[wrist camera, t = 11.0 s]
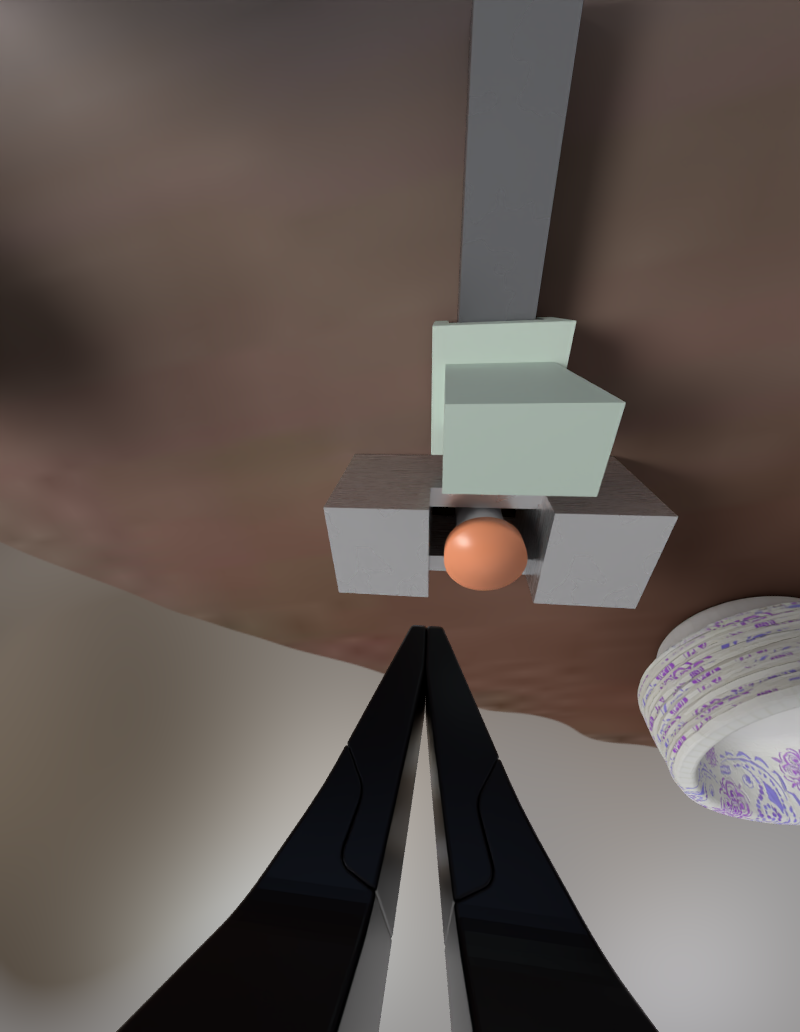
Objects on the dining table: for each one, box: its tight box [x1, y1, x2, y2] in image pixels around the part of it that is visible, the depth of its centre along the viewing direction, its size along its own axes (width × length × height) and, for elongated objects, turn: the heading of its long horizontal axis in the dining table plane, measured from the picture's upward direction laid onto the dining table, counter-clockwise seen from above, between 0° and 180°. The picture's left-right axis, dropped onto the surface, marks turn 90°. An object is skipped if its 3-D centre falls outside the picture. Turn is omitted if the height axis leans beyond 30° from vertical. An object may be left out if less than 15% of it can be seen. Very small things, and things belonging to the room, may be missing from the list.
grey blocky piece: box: [324, 454, 678, 609], centre depth 18 cm, size 5×14×6 cm, turn 92°
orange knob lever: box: [444, 507, 528, 591], centre depth 17 cm, size 4×4×5 cm
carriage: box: [431, 317, 626, 497], centre depth 12 cm, size 5×5×9 cm
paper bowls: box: [638, 596, 800, 825], centre depth 21 cm, size 15×15×8 cm
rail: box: [457, 0, 583, 323], centre depth 14 cm, size 14×3×2 cm, turn 2°
